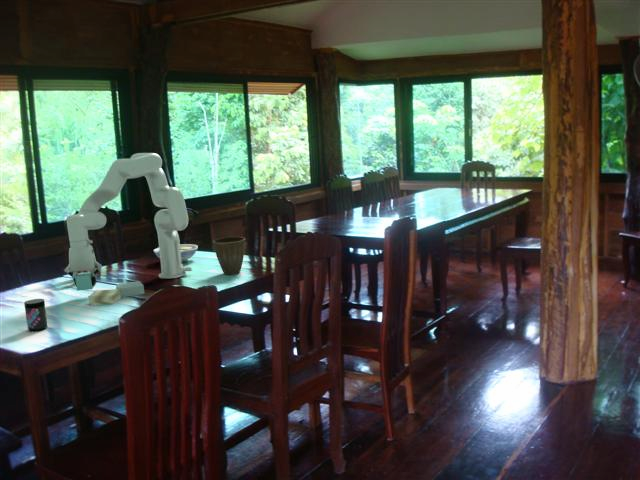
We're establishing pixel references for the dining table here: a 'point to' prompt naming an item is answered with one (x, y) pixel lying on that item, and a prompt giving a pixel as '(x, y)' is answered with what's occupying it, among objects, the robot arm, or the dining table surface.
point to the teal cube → (83, 281)
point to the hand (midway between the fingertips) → (85, 285)
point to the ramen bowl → (183, 251)
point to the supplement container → (36, 315)
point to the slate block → (130, 288)
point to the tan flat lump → (104, 297)
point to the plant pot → (230, 254)
